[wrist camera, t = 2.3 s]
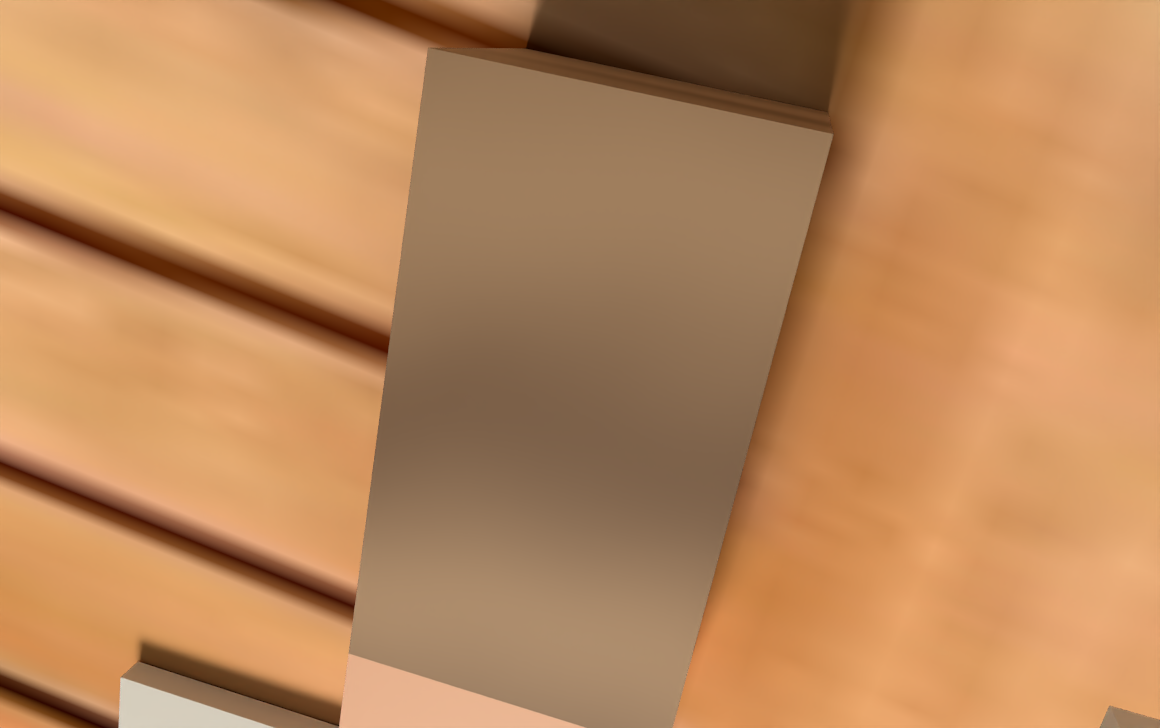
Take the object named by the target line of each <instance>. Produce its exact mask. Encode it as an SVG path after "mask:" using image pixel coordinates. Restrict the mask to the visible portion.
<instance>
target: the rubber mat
mask: <svg viewBox="0 0 1160 728" xmlns="http://www.w3.org/2000/svg"><path fill="white" fill-rule="evenodd" d="M119 728H339V726H336V725H333V724H329V723H326V722H323V721H320V720H317V719H314V718H311V717H308V716H305V715H302V714H299V713H296V712H293V711H289V710H286V709H283V708H280V707H277V706H274V705H271V704H268V703H265V702H262V701H259V700H256V699H252V698H249V697H246V696H243V695H240V694H237V693H234V692H231V691H228V690H225V689H222V688H219V687H215V686H212V685H209V684H206V683H203V682H200V681H197V680H194V679H191V678H188V677H185V676H182V675H178V674H175V673H172V672H169V671H166V670H163V669H160V668H157V667H154V666H151V665H148V664H145V663H141V662H137V663H136V664H135V665H134V666H133V667H131V668H130V669H129V670H128V671H127V672H126V673H125V674H124V675H123V676H122V677H121V682H120V708H119Z"/></svg>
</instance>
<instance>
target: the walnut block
mask: <svg viewBox="0 0 1160 728" xmlns="http://www.w3.org/2000/svg"><path fill="white" fill-rule="evenodd" d="M832 138H833V130H832V126H831V122H830V118H829V114H828V112H825V111H821V110H816V109H811V108H806V107H802V106H797V105H792V104H787V103H783V102H778V101H773V100H768V99H764V98H759V97H754V96H749V95H745V94H740V93H735V92H730V91H725V90H721V89H716V88H711V87H706V86H702V85H697V84H692V83H687V82H683V81H678V80H673V79H668V78H664V77H659V76H654V75H649V74H645V73H640V72H635V71H630V70H626V69H621V68H616V67H611V66H607V65H602V64H597V63H592V62H587V61H583V60H578V59H573V58H568V57H564V56H559V55H554V54H549V53H545V52H540V51H535V50H530V49H520V48H428V53H427V61H426V68H425V76H424V83H423V91H422V99H421V106H420V114H419V122H418V129H417V137H416V144H415V152H414V160H413V167H412V175H411V182H410V190H409V198H408V205H407V213H406V221H405V228H404V236H403V243H402V251H401V259H400V266H399V274H398V282H397V289H396V297H395V304H394V312H393V320H392V327H391V335H390V342H389V350H388V358H387V365H386V373H385V381H384V388H383V396H382V403H381V411H380V419H379V426H378V434H377V442H376V449H375V457H374V464H373V472H372V480H371V487H370V495H369V502H368V510H367V518H366V525H365V533H364V541H363V548H362V556H361V563H360V571H359V579H358V586H357V594H356V602H355V609H354V617H353V624H352V632H351V640H350V647H349V655H348V663H347V670H346V678H345V685H344V693H343V701H342V708H341V716H340V723H339V728H673V724H674V721H675V717H676V713H677V710H678V706H679V702H680V698H681V695H682V691H683V687H684V684H685V680H686V676H687V673H688V669H689V665H690V662H691V658H692V654H693V651H694V647H695V643H696V639H697V636H698V632H699V628H700V625H701V621H702V617H703V614H704V610H705V606H706V603H707V599H708V595H709V592H710V588H711V584H712V580H713V577H714V573H715V569H716V566H717V562H718V558H719V555H720V551H721V547H722V544H723V540H724V536H725V533H726V529H727V525H728V521H729V518H730V514H731V510H732V507H733V503H734V499H735V496H736V492H737V488H738V485H739V481H740V477H741V474H742V470H743V466H744V462H745V459H746V455H747V451H748V448H749V444H750V440H751V437H752V433H753V429H754V426H755V422H756V418H757V415H758V411H759V407H760V404H761V400H762V396H763V392H764V389H765V385H766V381H767V378H768V374H769V370H770V367H771V363H772V359H773V356H774V352H775V348H776V345H777V341H778V337H779V333H780V330H781V326H782V322H783V319H784V315H785V311H786V308H787V304H788V300H789V297H790V293H791V289H792V286H793V282H794V278H795V274H796V271H797V267H798V263H799V260H800V256H801V252H802V249H803V245H804V241H805V238H806V234H807V230H808V227H809V223H810V219H811V215H812V212H813V208H814V204H815V201H816V197H817V193H818V190H819V186H820V182H821V179H822V175H823V171H824V168H825V164H826V160H827V156H828V153H829V149H830V145H831V142H832Z"/></svg>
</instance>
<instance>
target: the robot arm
mask: <svg viewBox="0 0 1160 728" xmlns="http://www.w3.org/2000/svg"><path fill="white" fill-rule="evenodd" d="M1100 728H1160V720H1158V719H1154V718H1151V717H1147V716H1144V715H1140V714H1137V713H1133V712H1130V711H1127V710H1123V709H1120V708H1116V707H1113V706H1109V708H1108V710H1107V712H1106V715H1105V717H1104V719H1103V722H1102V724H1101V726H1100Z"/></svg>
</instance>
